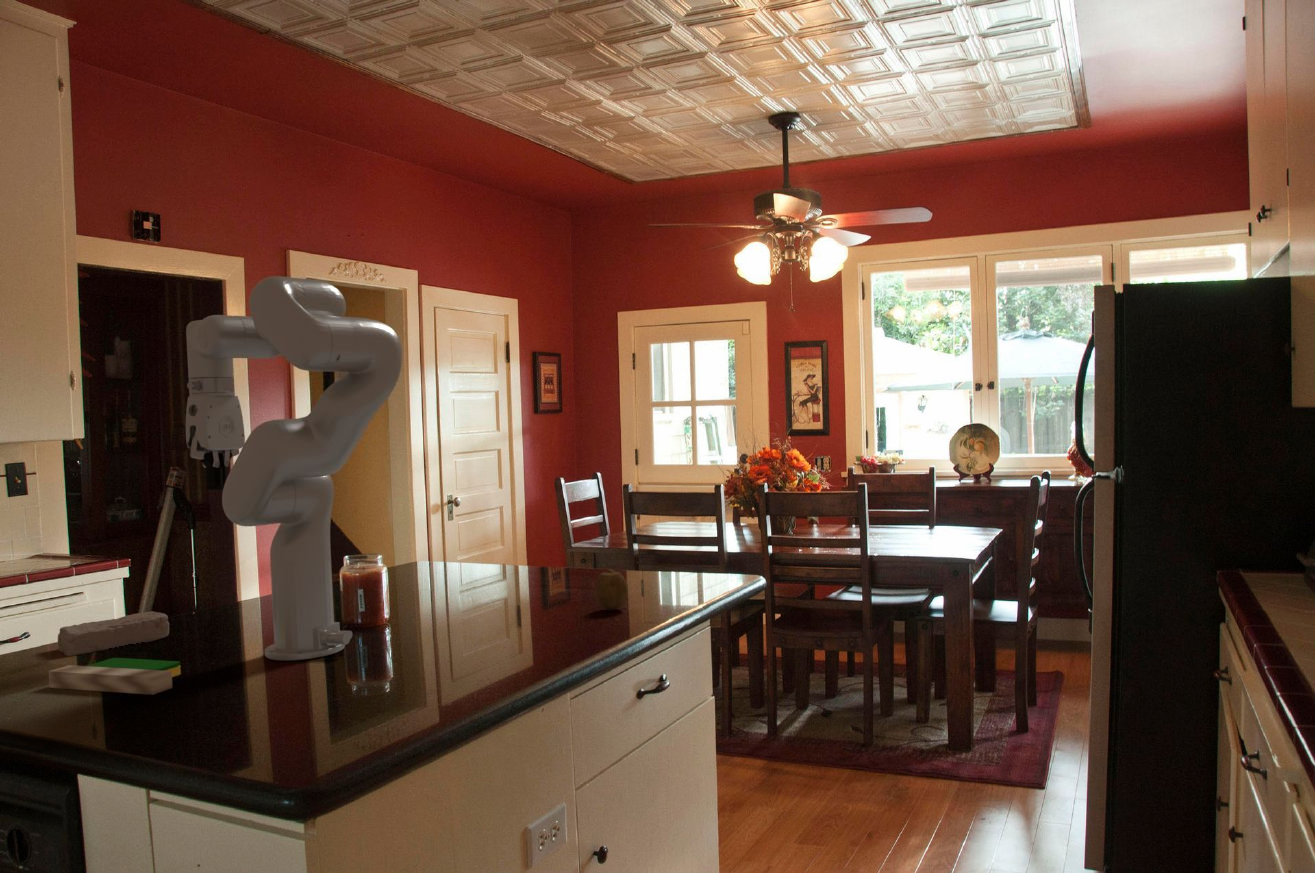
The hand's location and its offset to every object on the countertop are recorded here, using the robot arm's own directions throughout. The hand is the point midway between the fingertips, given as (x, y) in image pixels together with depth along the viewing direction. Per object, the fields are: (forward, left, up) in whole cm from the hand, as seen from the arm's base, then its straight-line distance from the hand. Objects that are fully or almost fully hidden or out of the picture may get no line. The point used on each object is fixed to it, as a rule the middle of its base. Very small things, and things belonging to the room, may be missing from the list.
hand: (217, 488), depth 177 cm
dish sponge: (-6, +27, -28) cm, 39 cm away
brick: (+17, +8, -28) cm, 34 cm away
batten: (-8, +32, -27) cm, 43 cm away
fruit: (-64, -31, -27) cm, 76 cm away
